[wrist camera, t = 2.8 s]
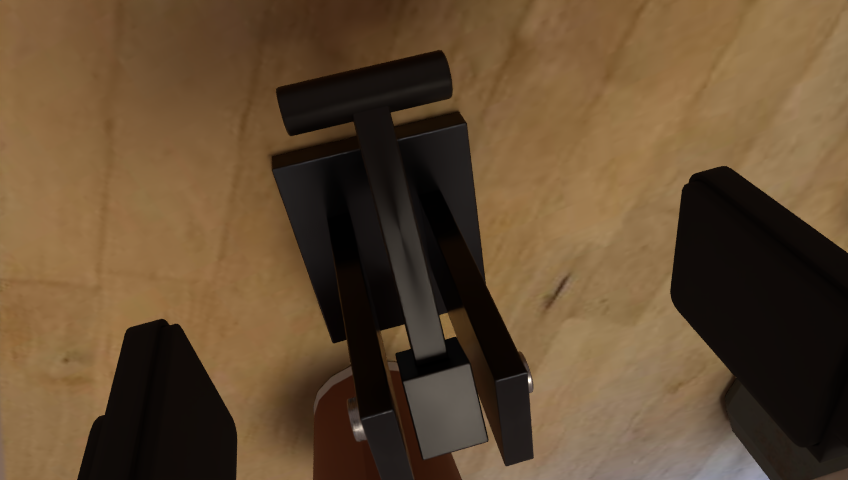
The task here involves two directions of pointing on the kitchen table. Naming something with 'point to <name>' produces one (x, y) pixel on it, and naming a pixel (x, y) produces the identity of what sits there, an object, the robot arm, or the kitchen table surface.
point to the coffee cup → (353, 461)
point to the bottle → (773, 441)
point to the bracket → (374, 286)
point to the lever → (400, 233)
